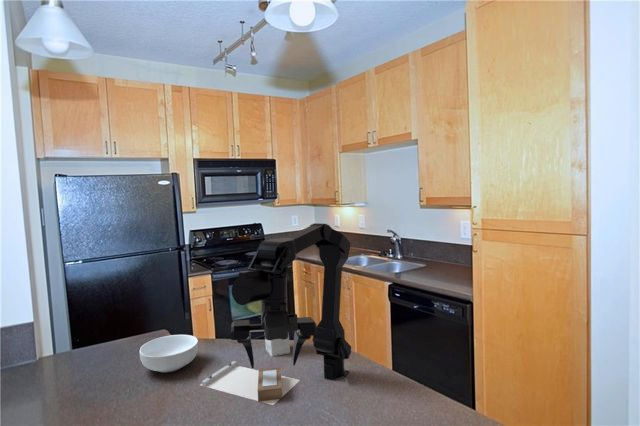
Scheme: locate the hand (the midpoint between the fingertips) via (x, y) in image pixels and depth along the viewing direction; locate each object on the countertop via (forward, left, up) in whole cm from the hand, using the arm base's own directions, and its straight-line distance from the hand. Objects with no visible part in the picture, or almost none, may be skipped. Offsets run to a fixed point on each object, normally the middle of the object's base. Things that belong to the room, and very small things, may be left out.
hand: (273, 366), depth 86 cm
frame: (-11, -9, -13) cm, 19 cm away
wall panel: (-11, -16, -13) cm, 24 cm away
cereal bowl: (-11, -46, -14) cm, 49 cm away
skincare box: (-32, -21, -14) cm, 40 cm away
